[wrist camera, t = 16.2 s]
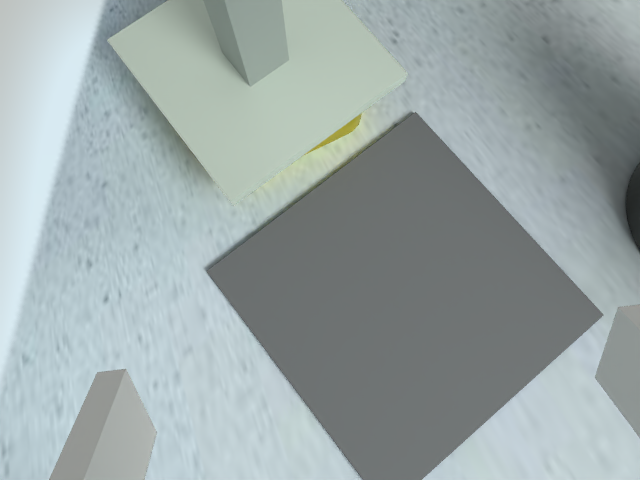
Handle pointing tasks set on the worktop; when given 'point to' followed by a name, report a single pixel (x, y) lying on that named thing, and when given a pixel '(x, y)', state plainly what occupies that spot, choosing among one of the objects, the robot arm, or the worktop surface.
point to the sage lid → (256, 79)
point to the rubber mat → (403, 303)
